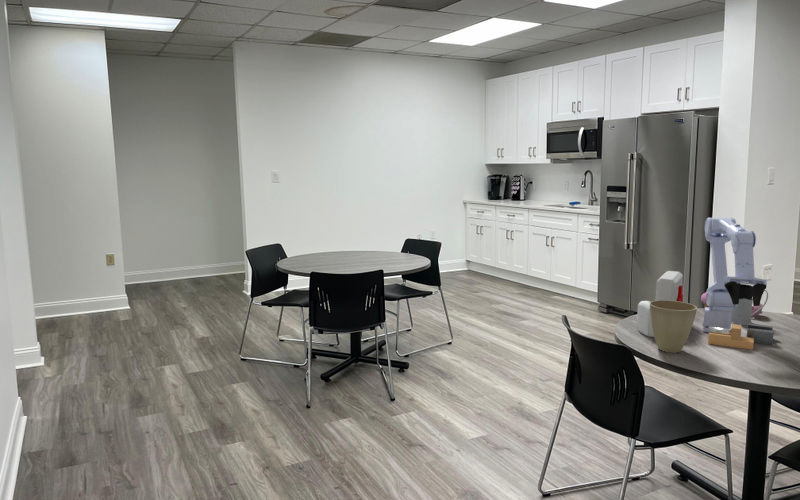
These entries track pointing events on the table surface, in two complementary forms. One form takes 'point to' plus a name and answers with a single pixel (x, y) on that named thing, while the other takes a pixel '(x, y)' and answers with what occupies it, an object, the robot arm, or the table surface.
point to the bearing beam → (732, 339)
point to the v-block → (760, 333)
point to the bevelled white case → (669, 287)
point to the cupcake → (704, 300)
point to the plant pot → (671, 323)
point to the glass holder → (744, 306)
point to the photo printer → (644, 319)
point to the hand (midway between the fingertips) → (746, 305)
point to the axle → (720, 330)
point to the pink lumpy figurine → (755, 308)
